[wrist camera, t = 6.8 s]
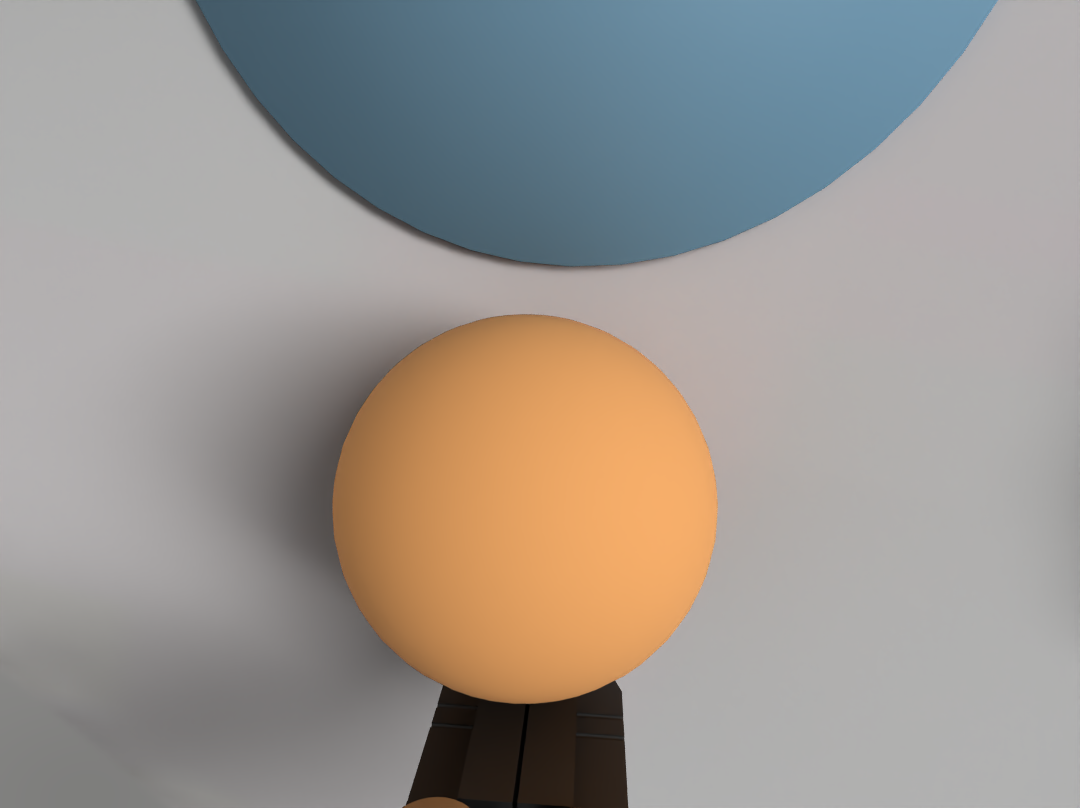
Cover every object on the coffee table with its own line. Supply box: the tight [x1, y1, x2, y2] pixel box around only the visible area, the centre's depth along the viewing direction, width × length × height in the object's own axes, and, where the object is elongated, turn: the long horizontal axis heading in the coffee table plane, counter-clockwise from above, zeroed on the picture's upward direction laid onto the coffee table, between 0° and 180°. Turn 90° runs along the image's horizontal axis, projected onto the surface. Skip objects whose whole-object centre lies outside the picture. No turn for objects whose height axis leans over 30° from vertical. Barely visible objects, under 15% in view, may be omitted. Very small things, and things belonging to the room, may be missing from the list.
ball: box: [332, 314, 718, 704], centre depth 10 cm, size 6×6×6 cm
